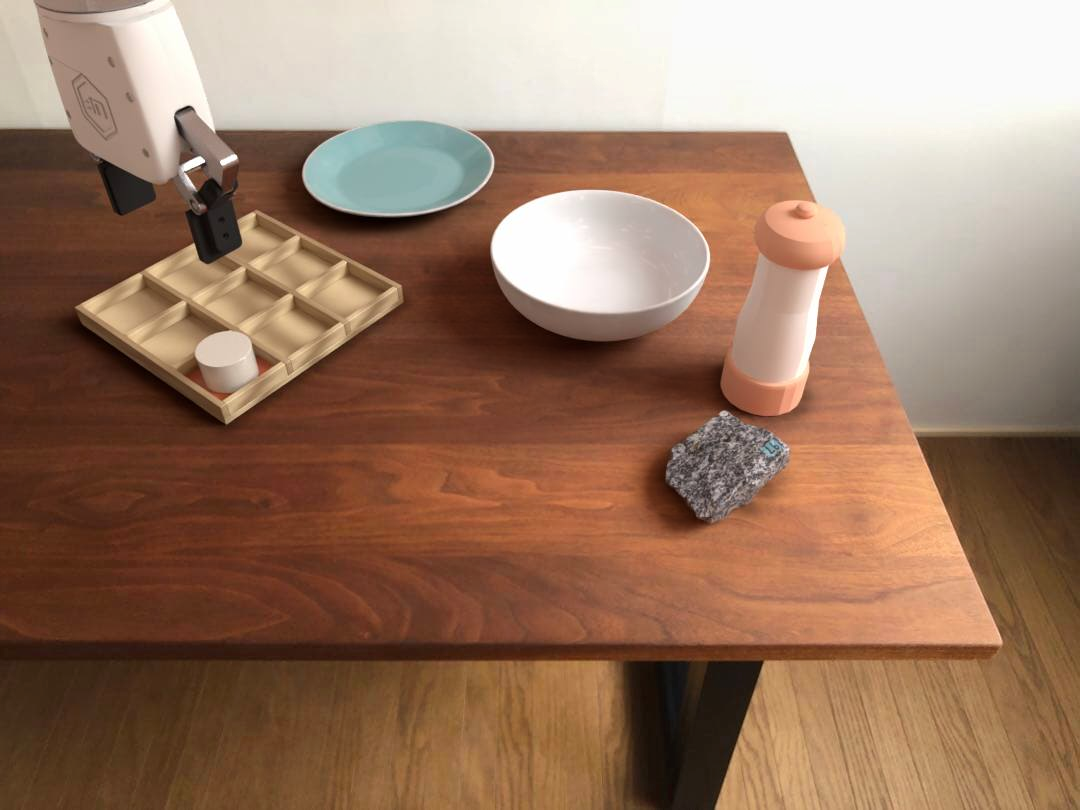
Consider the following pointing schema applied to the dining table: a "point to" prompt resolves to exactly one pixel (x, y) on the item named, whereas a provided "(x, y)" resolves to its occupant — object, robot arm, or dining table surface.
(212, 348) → the white cylinder puck
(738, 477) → the rock
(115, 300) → the wooden compartment tray
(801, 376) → the pepper shaker
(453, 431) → the dining table surface
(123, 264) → the dining table surface
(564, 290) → the serving bowl
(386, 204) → the plate
